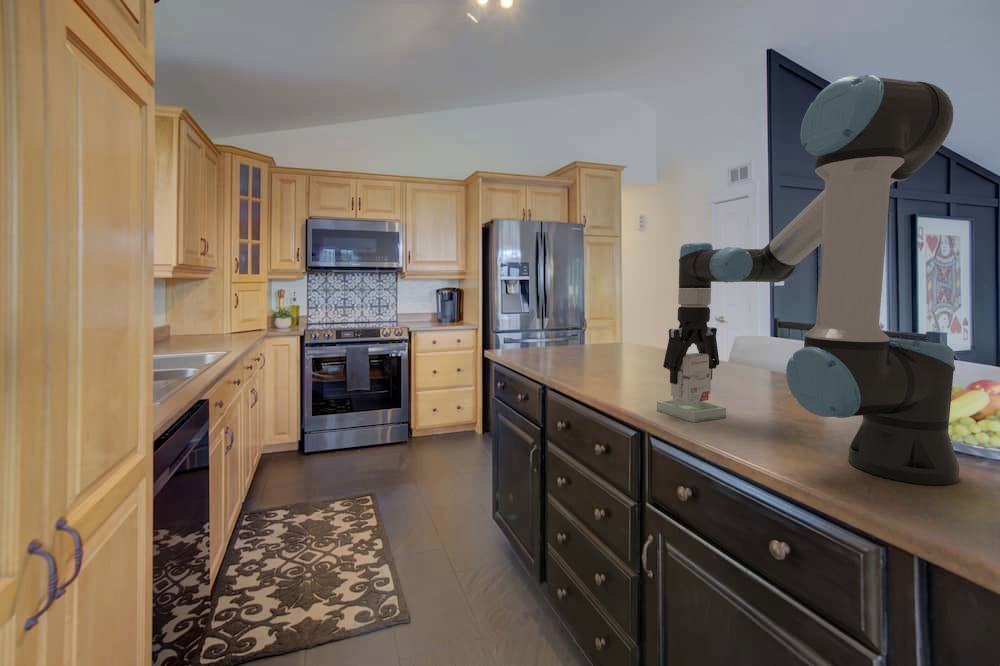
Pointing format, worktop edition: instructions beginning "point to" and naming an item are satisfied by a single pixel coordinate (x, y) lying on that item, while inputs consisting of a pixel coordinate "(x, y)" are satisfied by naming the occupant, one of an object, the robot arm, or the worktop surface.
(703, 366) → the ink box
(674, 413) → the pale green tray
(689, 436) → the worktop surface
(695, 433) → the worktop surface
